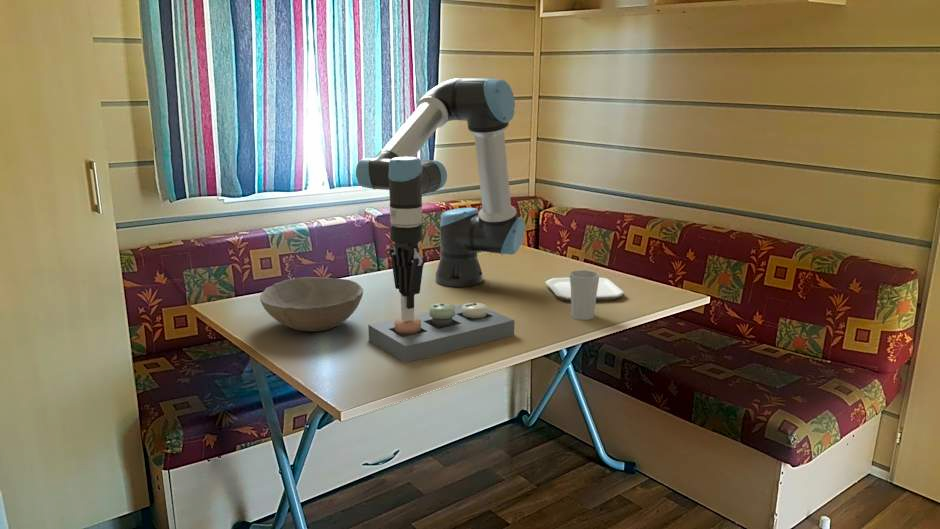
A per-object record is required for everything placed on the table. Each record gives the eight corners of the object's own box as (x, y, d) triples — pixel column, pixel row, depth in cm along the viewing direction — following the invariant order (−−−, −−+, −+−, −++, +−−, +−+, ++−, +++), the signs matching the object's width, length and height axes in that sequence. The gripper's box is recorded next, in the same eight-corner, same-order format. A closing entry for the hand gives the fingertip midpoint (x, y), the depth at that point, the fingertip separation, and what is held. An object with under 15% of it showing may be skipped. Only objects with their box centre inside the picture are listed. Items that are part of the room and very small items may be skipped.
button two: (424, 324, 183) (424, 305, 182) (445, 319, 187) (445, 300, 186) (438, 331, 178) (438, 312, 177) (460, 326, 182) (460, 307, 180)
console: (368, 339, 181) (368, 324, 180) (472, 316, 199) (472, 302, 198) (405, 362, 167) (405, 346, 166) (514, 334, 185) (514, 320, 184)
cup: (596, 321, 196) (599, 278, 193) (566, 319, 197) (568, 276, 194) (597, 312, 203) (599, 271, 200) (569, 310, 205) (570, 269, 202)
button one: (390, 338, 178) (389, 319, 177) (412, 333, 182) (412, 314, 180) (403, 346, 173) (403, 326, 172) (426, 341, 177) (426, 321, 175)
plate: (559, 305, 211) (560, 297, 210) (542, 285, 230) (542, 278, 230) (628, 302, 214) (628, 295, 213) (605, 282, 233) (605, 276, 233)
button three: (457, 323, 189) (457, 305, 188) (477, 318, 193) (477, 300, 192) (471, 330, 184) (471, 311, 183) (491, 325, 188) (492, 306, 187)
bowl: (316, 352, 173) (314, 312, 171) (240, 331, 187) (237, 294, 184) (385, 321, 195) (384, 285, 192) (312, 305, 208) (310, 271, 206)
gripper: (378, 221, 173) (381, 315, 179) (406, 231, 163) (408, 330, 169) (405, 217, 177) (407, 310, 183) (434, 227, 167) (435, 324, 173)
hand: (407, 319), depth 176 cm, fingers closed
